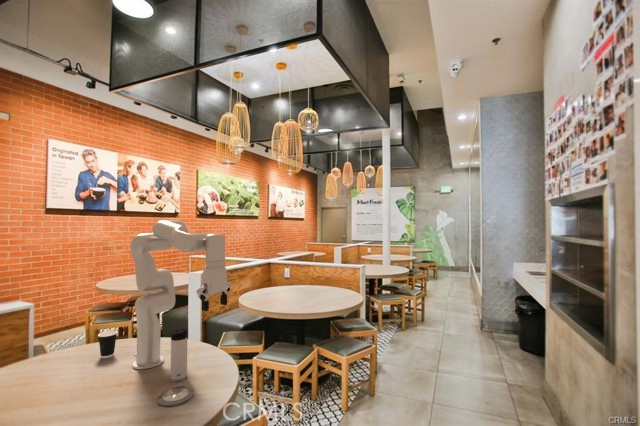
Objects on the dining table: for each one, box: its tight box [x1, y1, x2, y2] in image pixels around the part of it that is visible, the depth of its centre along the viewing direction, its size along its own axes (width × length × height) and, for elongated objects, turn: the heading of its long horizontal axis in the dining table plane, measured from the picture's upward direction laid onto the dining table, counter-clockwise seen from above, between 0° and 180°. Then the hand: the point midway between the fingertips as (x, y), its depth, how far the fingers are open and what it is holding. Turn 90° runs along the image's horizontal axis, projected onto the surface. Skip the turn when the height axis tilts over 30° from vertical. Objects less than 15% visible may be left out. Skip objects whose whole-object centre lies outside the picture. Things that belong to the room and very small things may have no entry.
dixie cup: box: [97, 330, 118, 359], centre depth 151 cm, size 8×8×11 cm
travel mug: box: [170, 328, 189, 383], centre depth 128 cm, size 6×7×20 cm
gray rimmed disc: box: [157, 385, 194, 408], centre depth 114 cm, size 12×12×1 cm
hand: (214, 307), depth 123 cm, fingers open, 9 cm apart
